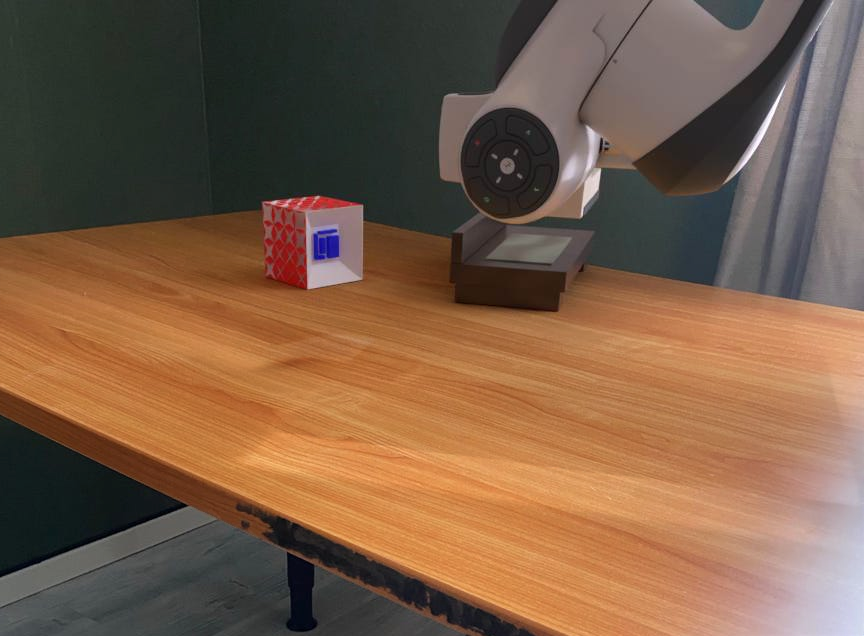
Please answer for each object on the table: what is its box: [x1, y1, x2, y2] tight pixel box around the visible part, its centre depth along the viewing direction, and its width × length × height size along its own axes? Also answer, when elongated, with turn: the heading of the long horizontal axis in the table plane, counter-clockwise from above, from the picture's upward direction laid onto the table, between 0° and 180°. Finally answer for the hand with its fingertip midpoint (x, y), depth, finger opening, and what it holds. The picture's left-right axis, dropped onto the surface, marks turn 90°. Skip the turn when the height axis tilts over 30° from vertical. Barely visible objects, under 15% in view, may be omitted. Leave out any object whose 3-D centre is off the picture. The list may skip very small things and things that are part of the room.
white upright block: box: [545, 167, 602, 220], centre depth 94 cm, size 14×5×12 cm, turn 163°
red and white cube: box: [261, 195, 364, 290], centre depth 111 cm, size 8×8×8 cm
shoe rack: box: [449, 211, 596, 312], centre depth 111 cm, size 12×24×7 cm, turn 163°
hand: (568, 128), depth 91 cm, fingers closed on white upright block, 5 cm apart
